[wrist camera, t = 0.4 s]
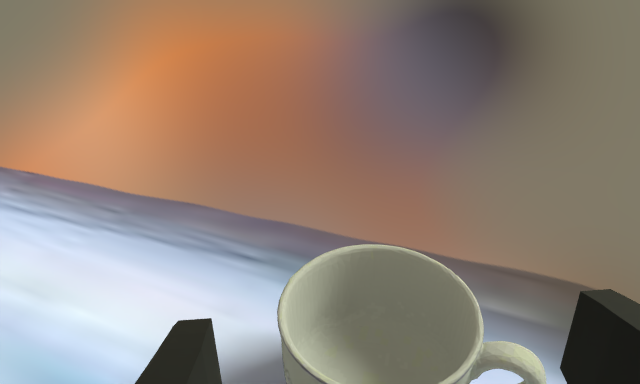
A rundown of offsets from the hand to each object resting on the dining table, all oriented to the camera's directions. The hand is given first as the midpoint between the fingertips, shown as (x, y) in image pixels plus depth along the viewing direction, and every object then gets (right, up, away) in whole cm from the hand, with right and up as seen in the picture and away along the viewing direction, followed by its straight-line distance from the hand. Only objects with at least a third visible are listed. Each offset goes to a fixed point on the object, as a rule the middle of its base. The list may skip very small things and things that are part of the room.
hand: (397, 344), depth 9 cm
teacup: (+3, -10, +20) cm, 22 cm away
